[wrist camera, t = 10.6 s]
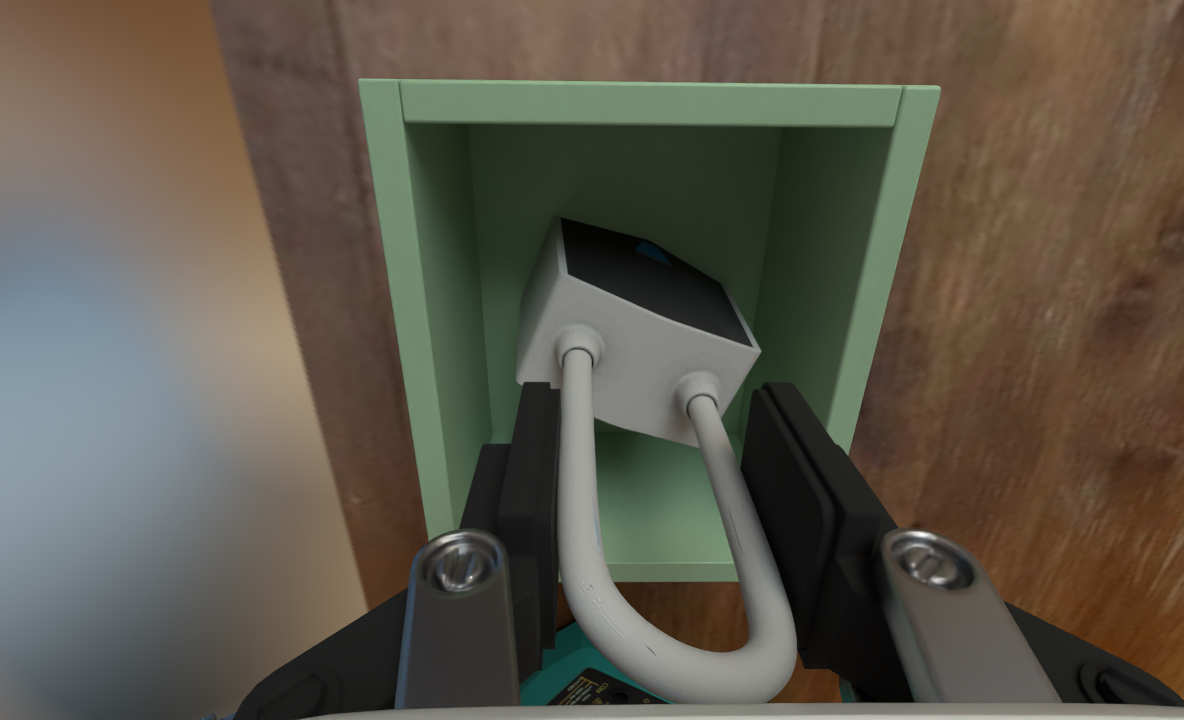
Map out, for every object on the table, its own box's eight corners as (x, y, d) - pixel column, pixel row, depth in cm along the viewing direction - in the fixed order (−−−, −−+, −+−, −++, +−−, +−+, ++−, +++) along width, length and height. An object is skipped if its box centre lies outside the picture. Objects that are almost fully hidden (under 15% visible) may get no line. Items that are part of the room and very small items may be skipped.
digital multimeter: (576, 600, 28) (575, 653, 26) (785, 708, 32) (803, 763, 30) (497, 677, 31) (489, 733, 28) (701, 768, 35) (710, 824, 32)
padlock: (733, 275, 20) (1031, 667, 7) (680, 372, 22) (834, 838, 8) (558, 202, 19) (495, 499, 6) (516, 310, 21) (390, 740, 7)
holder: (805, 84, 18) (944, 85, 11) (749, 437, 24) (817, 581, 17) (444, 79, 18) (355, 78, 11) (477, 437, 24) (434, 583, 17)
